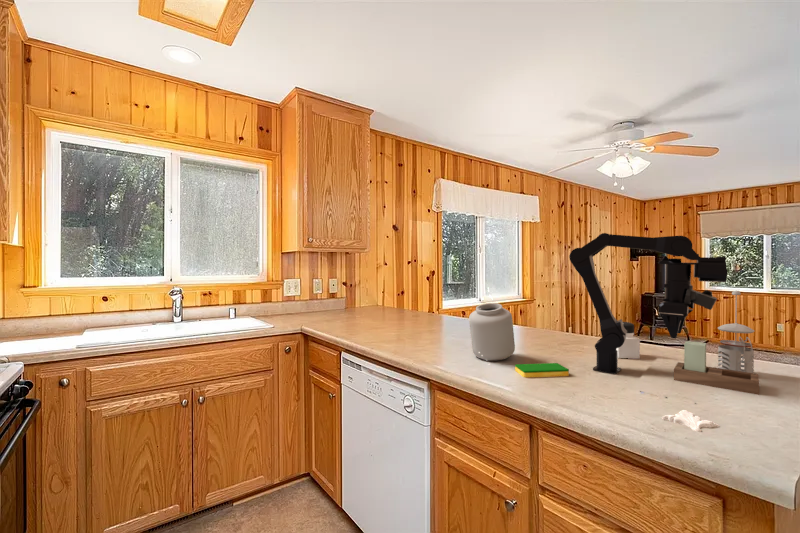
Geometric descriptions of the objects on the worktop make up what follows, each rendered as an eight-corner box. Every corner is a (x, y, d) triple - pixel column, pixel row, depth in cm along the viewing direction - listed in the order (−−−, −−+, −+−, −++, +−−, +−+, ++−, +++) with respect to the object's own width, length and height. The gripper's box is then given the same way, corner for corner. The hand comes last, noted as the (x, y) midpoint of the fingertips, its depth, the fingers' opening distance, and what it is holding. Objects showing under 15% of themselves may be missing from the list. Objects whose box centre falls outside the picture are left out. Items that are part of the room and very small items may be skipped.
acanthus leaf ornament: (661, 422, 81) (661, 413, 81) (679, 416, 84) (679, 407, 84) (702, 436, 74) (702, 427, 74) (719, 429, 77) (719, 419, 77)
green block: (704, 383, 100) (704, 346, 100) (684, 379, 103) (684, 343, 103) (705, 379, 104) (706, 343, 103) (686, 375, 107) (686, 340, 106)
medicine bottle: (629, 353, 135) (629, 320, 135) (640, 359, 128) (640, 324, 128) (608, 353, 136) (608, 320, 136) (618, 358, 129) (618, 324, 128)
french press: (747, 372, 112) (748, 289, 112) (770, 385, 101) (771, 293, 101) (707, 369, 115) (708, 288, 115) (726, 381, 105) (727, 292, 104)
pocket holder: (759, 398, 92) (759, 382, 91) (673, 383, 103) (673, 369, 103) (758, 389, 98) (758, 374, 98) (678, 375, 110) (678, 362, 110)
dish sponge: (514, 371, 117) (514, 364, 117) (557, 370, 118) (557, 362, 118) (524, 379, 110) (524, 370, 109) (569, 377, 111) (569, 369, 111)
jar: (499, 368, 119) (498, 289, 118) (458, 360, 128) (458, 288, 128) (521, 355, 134) (521, 286, 133) (483, 349, 143) (483, 284, 142)
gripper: (712, 284, 93) (710, 346, 93) (717, 280, 107) (715, 334, 107) (659, 281, 100) (657, 339, 101) (669, 278, 114) (667, 329, 115)
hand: (676, 335), depth 106 cm, fingers open, 9 cm apart
